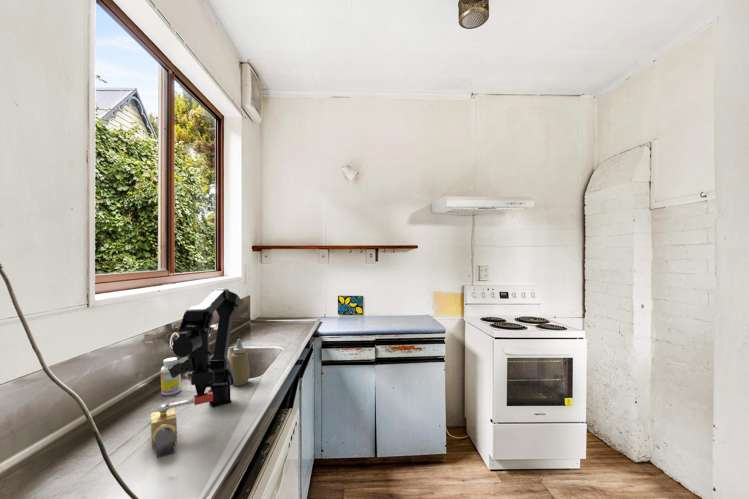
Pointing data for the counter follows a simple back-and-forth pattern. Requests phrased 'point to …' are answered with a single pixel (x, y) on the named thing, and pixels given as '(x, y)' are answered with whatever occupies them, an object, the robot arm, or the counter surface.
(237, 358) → the squeeze bottle
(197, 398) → the valve lever
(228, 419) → the counter surface
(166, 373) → the supplement bottle
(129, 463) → the counter surface
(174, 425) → the valve body
